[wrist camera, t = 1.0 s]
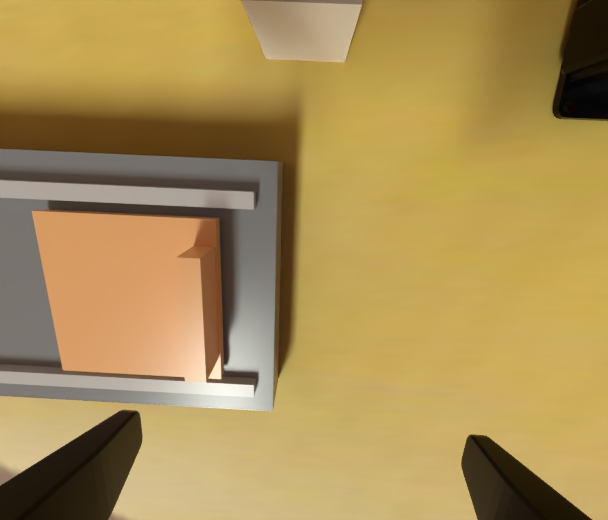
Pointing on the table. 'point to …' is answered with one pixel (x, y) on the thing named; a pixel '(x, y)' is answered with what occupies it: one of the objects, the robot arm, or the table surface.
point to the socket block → (159, 201)
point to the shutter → (134, 292)
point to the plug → (304, 28)
